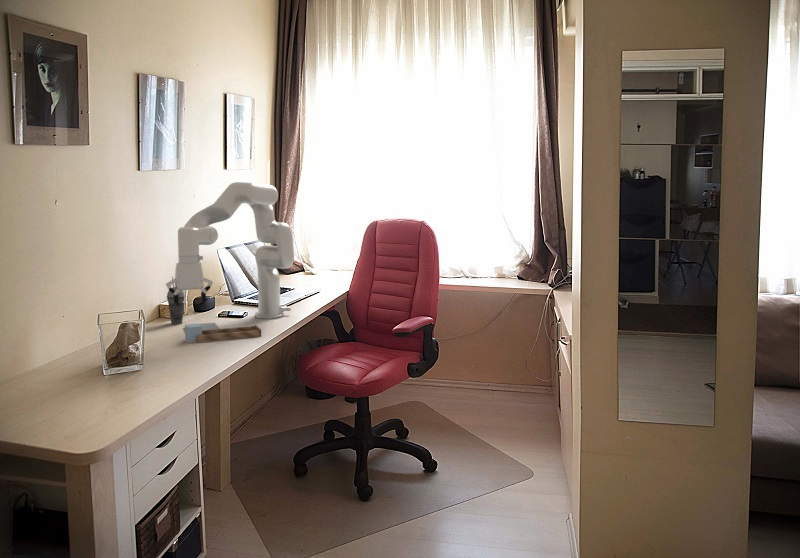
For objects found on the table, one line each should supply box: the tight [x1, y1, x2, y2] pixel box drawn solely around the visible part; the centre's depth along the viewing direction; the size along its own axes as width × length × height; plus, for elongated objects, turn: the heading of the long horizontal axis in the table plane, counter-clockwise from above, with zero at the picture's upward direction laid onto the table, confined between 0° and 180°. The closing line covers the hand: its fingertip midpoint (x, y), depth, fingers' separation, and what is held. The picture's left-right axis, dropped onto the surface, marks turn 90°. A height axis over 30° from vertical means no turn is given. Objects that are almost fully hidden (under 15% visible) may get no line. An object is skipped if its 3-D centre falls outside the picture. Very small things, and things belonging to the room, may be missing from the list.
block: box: [184, 322, 202, 344], centre depth 278 cm, size 5×5×6 cm
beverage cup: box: [166, 276, 186, 326], centre depth 303 cm, size 7×7×20 cm
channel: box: [196, 324, 262, 343], centre depth 284 cm, size 25×8×3 cm, turn 115°
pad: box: [198, 322, 221, 330], centre depth 295 cm, size 12×12×1 cm
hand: (190, 303), depth 276 cm, fingers open, 9 cm apart
